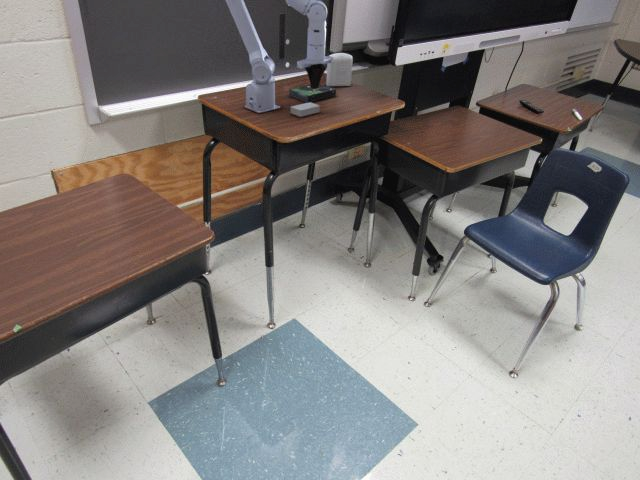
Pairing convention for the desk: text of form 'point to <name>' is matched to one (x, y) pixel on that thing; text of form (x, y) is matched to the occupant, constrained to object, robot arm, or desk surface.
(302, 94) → the disk drive
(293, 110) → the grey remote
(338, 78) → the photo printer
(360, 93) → the desk surface
